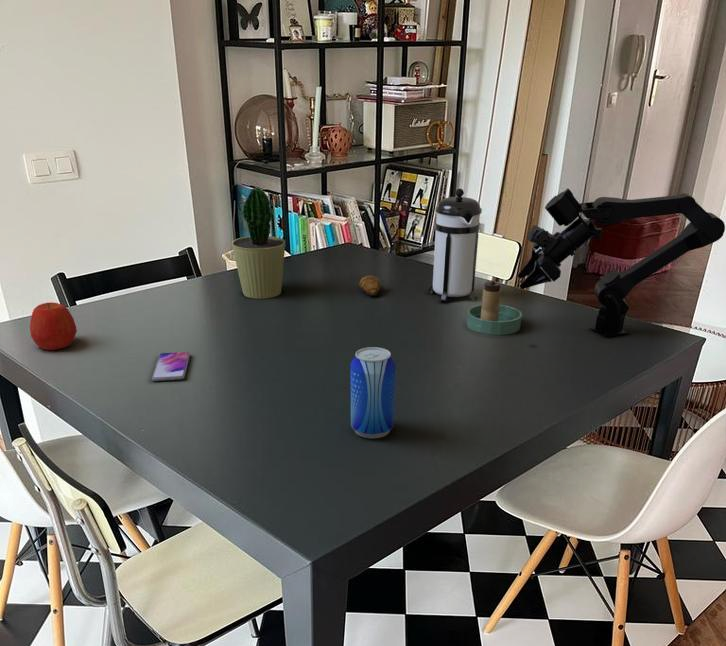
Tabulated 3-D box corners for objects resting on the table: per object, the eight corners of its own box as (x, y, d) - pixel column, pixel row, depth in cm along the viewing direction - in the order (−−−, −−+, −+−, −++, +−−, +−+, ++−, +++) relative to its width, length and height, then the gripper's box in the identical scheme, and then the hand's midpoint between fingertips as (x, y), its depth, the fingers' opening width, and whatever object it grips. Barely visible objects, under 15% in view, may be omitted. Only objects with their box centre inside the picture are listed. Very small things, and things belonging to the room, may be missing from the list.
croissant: (385, 297, 215) (385, 280, 212) (362, 299, 214) (362, 282, 211) (376, 284, 226) (377, 268, 223) (355, 285, 225) (355, 269, 222)
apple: (88, 344, 182) (79, 302, 176) (46, 356, 175) (36, 313, 169) (66, 334, 188) (57, 293, 182) (25, 345, 181) (15, 303, 176)
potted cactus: (243, 283, 226) (235, 180, 210) (292, 286, 224) (288, 181, 208) (229, 299, 213) (219, 190, 197) (281, 302, 211) (275, 191, 195)
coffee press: (487, 293, 219) (497, 186, 203) (464, 307, 207) (473, 195, 191) (436, 283, 227) (442, 180, 211) (410, 297, 215) (415, 189, 199)
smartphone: (151, 378, 162) (159, 353, 175) (151, 382, 163) (160, 356, 175) (184, 376, 163) (190, 351, 176) (184, 380, 163) (190, 354, 176)
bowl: (500, 315, 202) (501, 301, 200) (531, 332, 191) (533, 317, 189) (456, 322, 197) (457, 308, 195) (485, 340, 186) (487, 324, 184)
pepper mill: (491, 321, 196) (495, 277, 190) (500, 326, 193) (505, 281, 187) (476, 323, 195) (480, 279, 188) (486, 329, 191) (490, 284, 185)
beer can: (349, 421, 147) (348, 345, 139) (390, 419, 148) (393, 344, 139) (352, 441, 140) (352, 363, 132) (396, 439, 141) (398, 361, 132)
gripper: (546, 206, 185) (498, 249, 192) (553, 223, 170) (500, 269, 177) (573, 239, 189) (524, 280, 196) (582, 259, 173) (529, 302, 180)
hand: (519, 282), depth 187 cm, fingers open, 9 cm apart
